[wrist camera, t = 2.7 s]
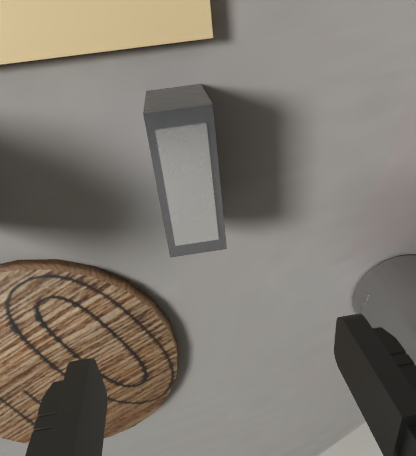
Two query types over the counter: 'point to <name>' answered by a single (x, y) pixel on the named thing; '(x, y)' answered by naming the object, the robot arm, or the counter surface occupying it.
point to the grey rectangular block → (186, 168)
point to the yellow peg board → (96, 26)
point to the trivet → (79, 341)
